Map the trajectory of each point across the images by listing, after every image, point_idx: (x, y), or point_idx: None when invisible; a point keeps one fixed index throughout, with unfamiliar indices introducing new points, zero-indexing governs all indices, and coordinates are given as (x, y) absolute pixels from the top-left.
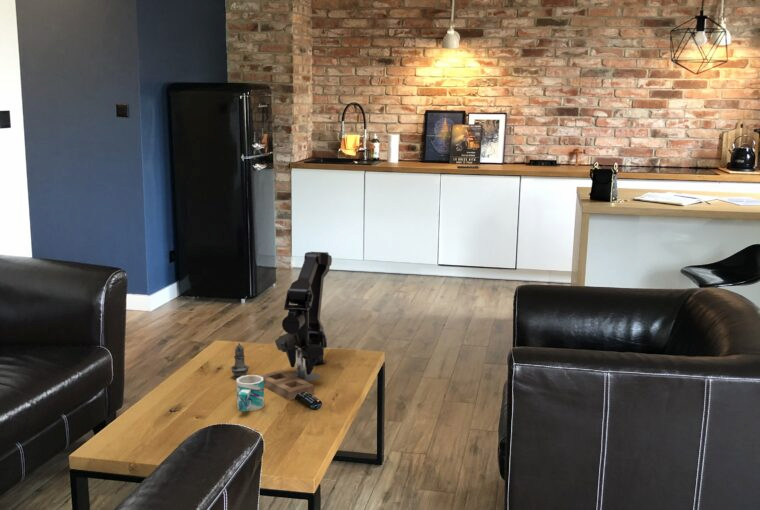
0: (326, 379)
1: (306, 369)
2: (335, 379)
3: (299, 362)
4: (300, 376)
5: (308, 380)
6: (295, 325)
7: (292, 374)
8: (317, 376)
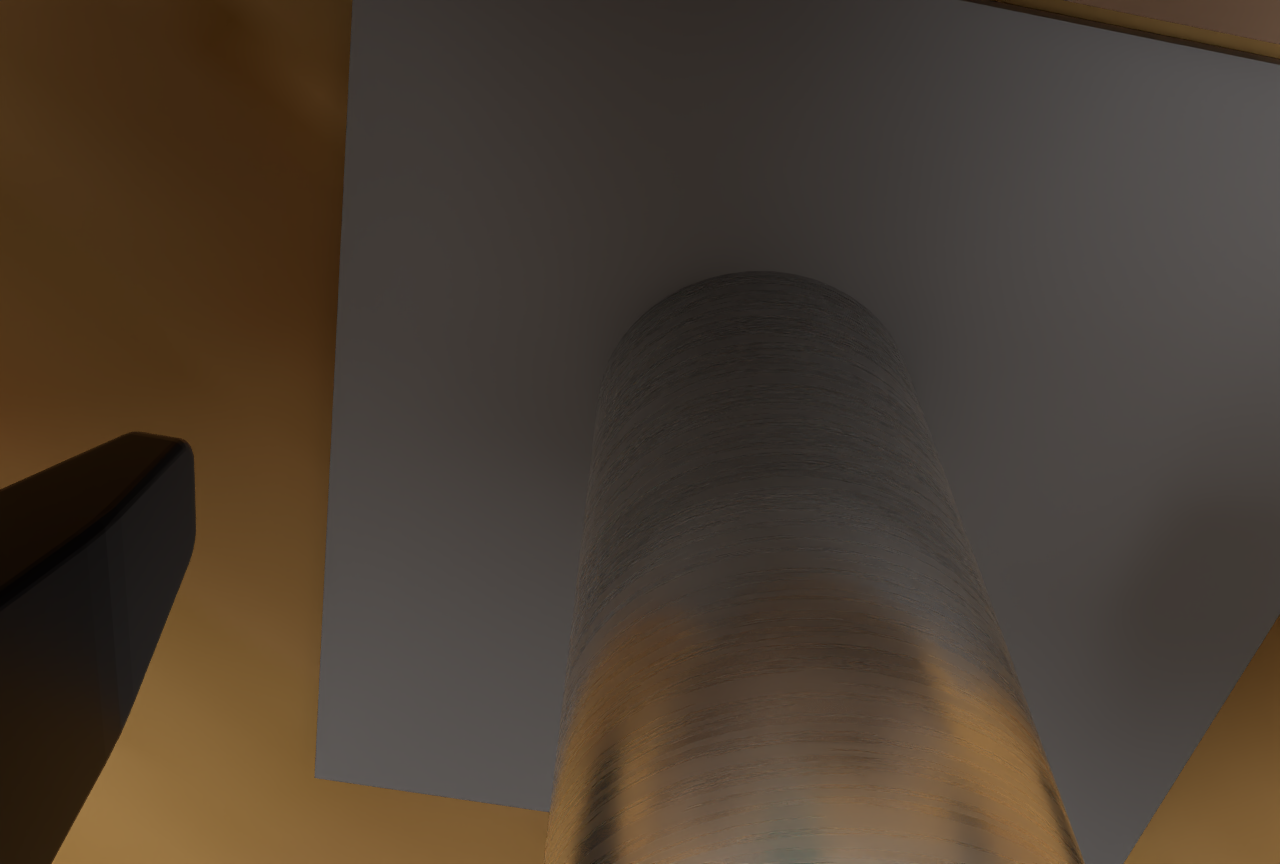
0: (196, 759)
1: (8, 545)
2: (62, 857)
3: (662, 823)
4: (639, 367)
5: (392, 419)
6: None
7: (1206, 476)
8: (469, 752)
